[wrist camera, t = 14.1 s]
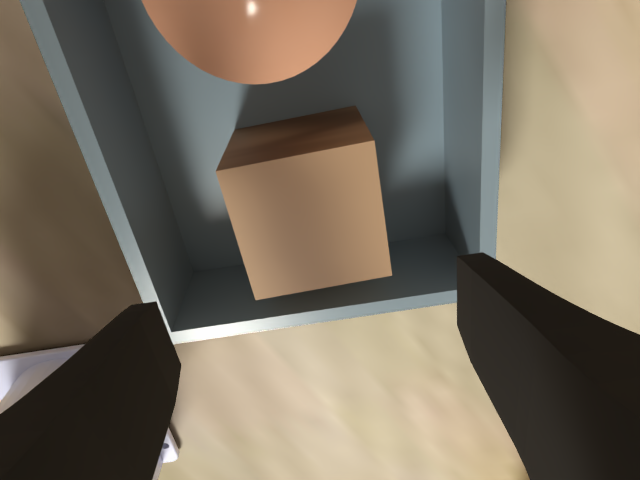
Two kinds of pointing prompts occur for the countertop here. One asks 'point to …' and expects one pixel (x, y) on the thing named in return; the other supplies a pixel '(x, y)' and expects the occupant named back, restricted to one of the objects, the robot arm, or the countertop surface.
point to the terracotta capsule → (251, 34)
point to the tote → (274, 105)
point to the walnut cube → (306, 202)
